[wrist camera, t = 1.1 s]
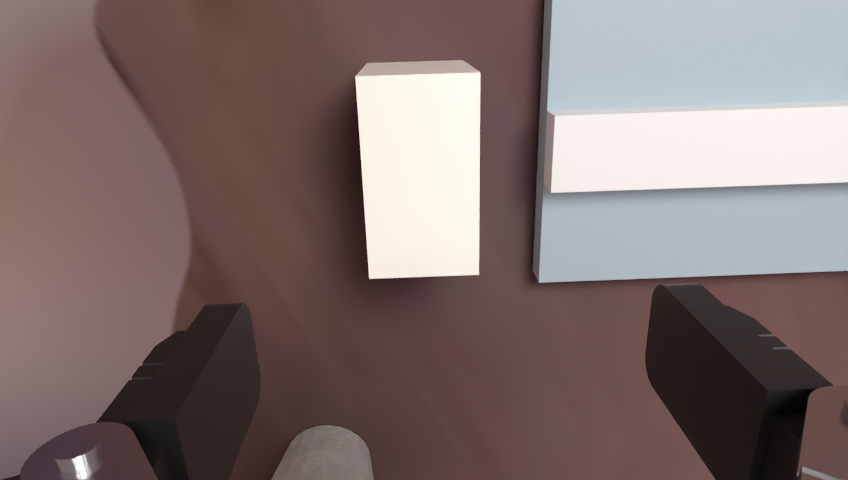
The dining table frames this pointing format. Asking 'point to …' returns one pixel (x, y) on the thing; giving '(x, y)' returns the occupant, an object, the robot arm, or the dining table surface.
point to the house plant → (325, 456)
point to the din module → (420, 167)
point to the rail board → (690, 75)
